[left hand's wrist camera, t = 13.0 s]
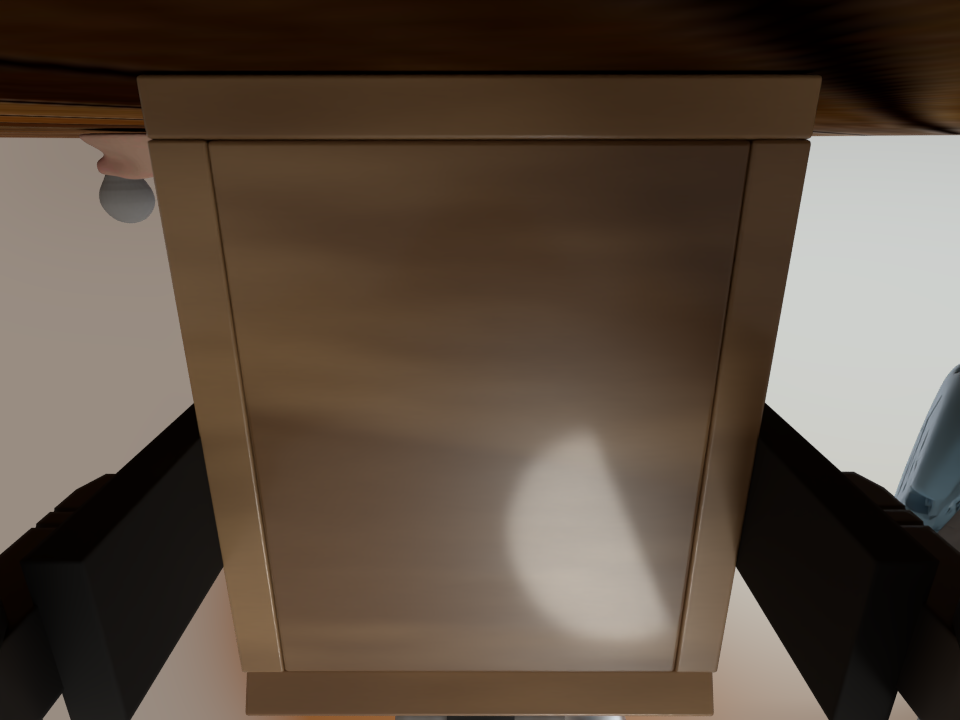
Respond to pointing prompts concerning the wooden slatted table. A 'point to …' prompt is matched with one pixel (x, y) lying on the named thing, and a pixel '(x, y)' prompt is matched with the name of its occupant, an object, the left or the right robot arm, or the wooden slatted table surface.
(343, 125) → the chest
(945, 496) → the left robot arm
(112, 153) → the anatomical model
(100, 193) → the light bulb
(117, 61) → the wooden slatted table surface
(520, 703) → the lid
